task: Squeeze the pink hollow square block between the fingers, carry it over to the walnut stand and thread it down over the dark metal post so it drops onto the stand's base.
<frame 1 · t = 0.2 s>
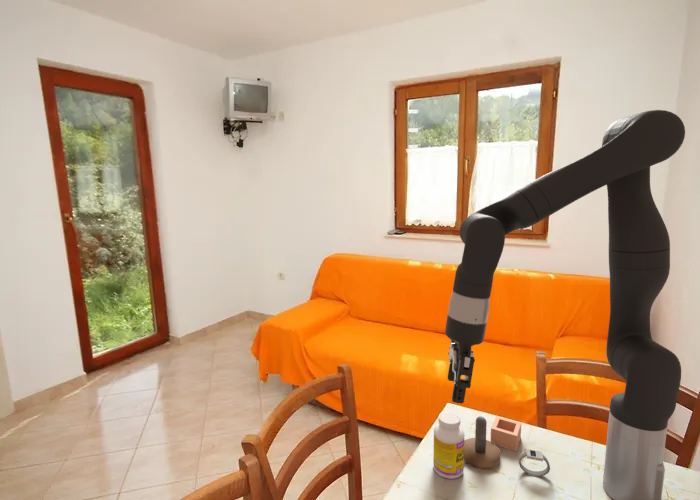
hand: (454, 390, 79), 22 cm above the table, tool pointing down, fingers open, 8 cm apart
pink hollow square block: (505, 440, 97), on the table
supplement bottle: (448, 470, 88), on the table
post stand: (480, 455, 92), on the table
wristwatch: (533, 474, 86), on the table
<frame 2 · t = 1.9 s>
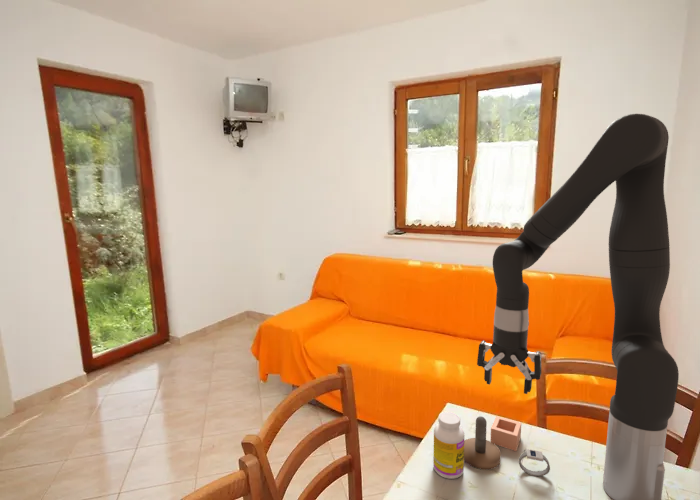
hand: (507, 387, 94), 14 cm above the table, tool pointing down, fingers open, 8 cm apart
nothing on the table moved.
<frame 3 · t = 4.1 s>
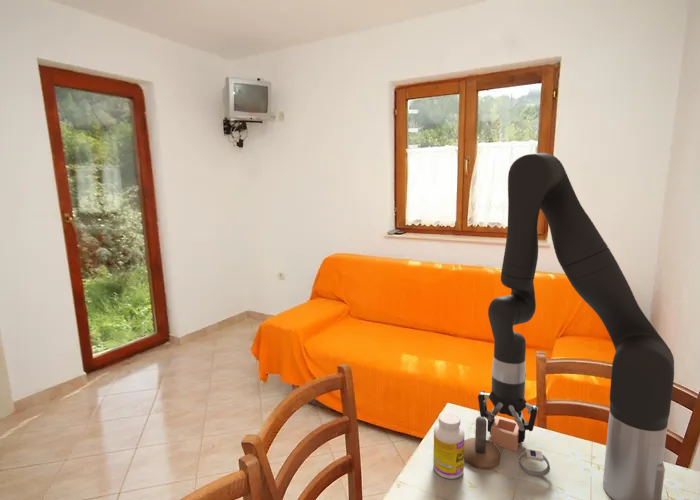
hand: (505, 437, 97), 1 cm above the table, tool pointing down, fingers closed on pink hollow square block, 6 cm apart
pink hollow square block: (505, 440, 97), on the table, touching gripper
everything else where it was.
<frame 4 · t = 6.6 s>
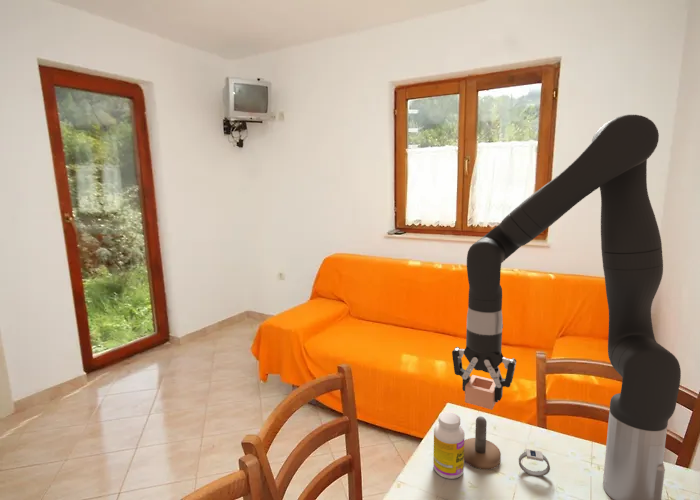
hand: (481, 396, 89), 15 cm above the table, tool pointing down, fingers closed on pink hollow square block, 6 cm apart
pink hollow square block: (481, 399, 89), point 14 cm above the table, touching gripper
everything else where it was.
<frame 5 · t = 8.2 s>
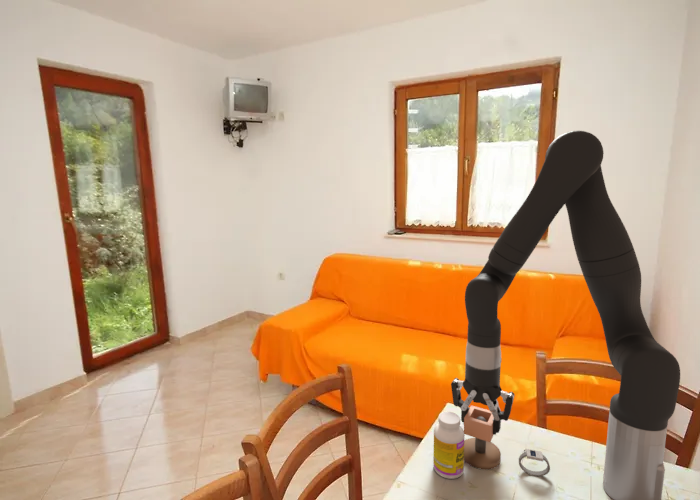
hand: (480, 427, 90), 7 cm above the table, tool pointing down, fingers closed on pink hollow square block, 6 cm apart
pink hollow square block: (480, 430, 90), point 7 cm above the table, touching gripper
everything else where it was.
when the fingers open (6 cm above the table, at t = 9.3 s): pink hollow square block drops 3 cm, resting on post stand.
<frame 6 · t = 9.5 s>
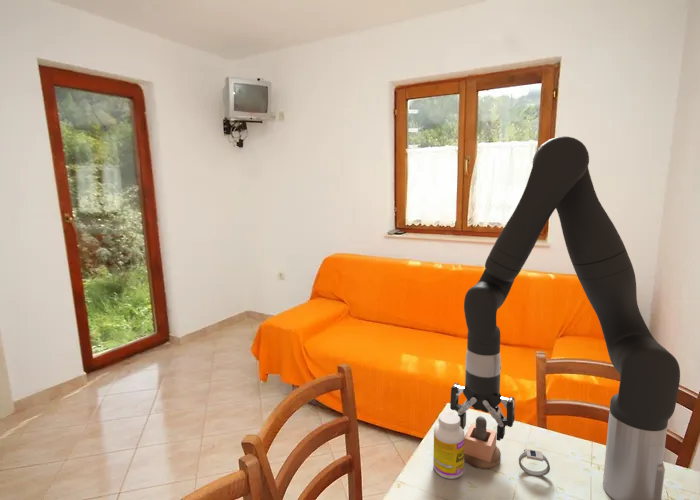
hand: (480, 432, 91), 6 cm above the table, tool pointing down, fingers open, 8 cm apart
pink hollow square block: (479, 450, 91), point 1 cm above the table, touching post stand
everything else where it was.
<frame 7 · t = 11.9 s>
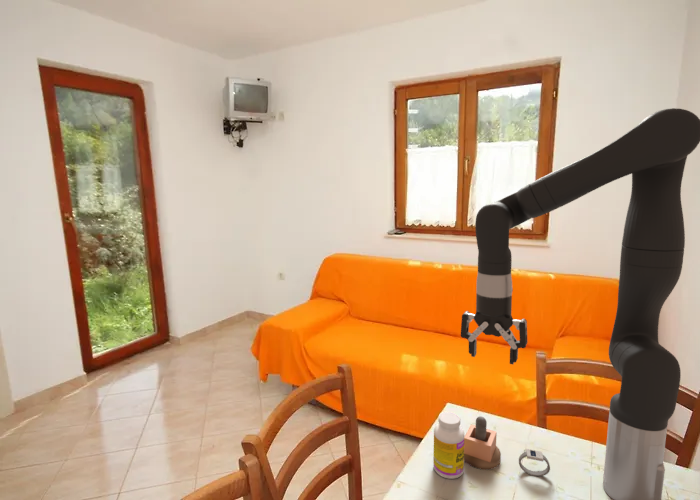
hand: (492, 359, 90), 23 cm above the table, tool pointing down, fingers open, 8 cm apart
nothing on the table moved.
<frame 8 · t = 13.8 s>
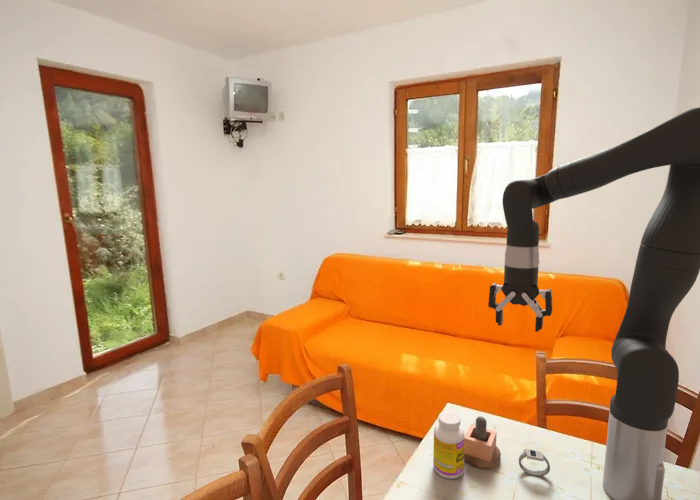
hand: (518, 327, 96), 28 cm above the table, tool pointing down, fingers open, 8 cm apart
nothing on the table moved.
at the end: pink hollow square block 0.1 cm from the post stand (horizontally); pink hollow square block point 1.5 cm above the table; the gripper is holding nothing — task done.
